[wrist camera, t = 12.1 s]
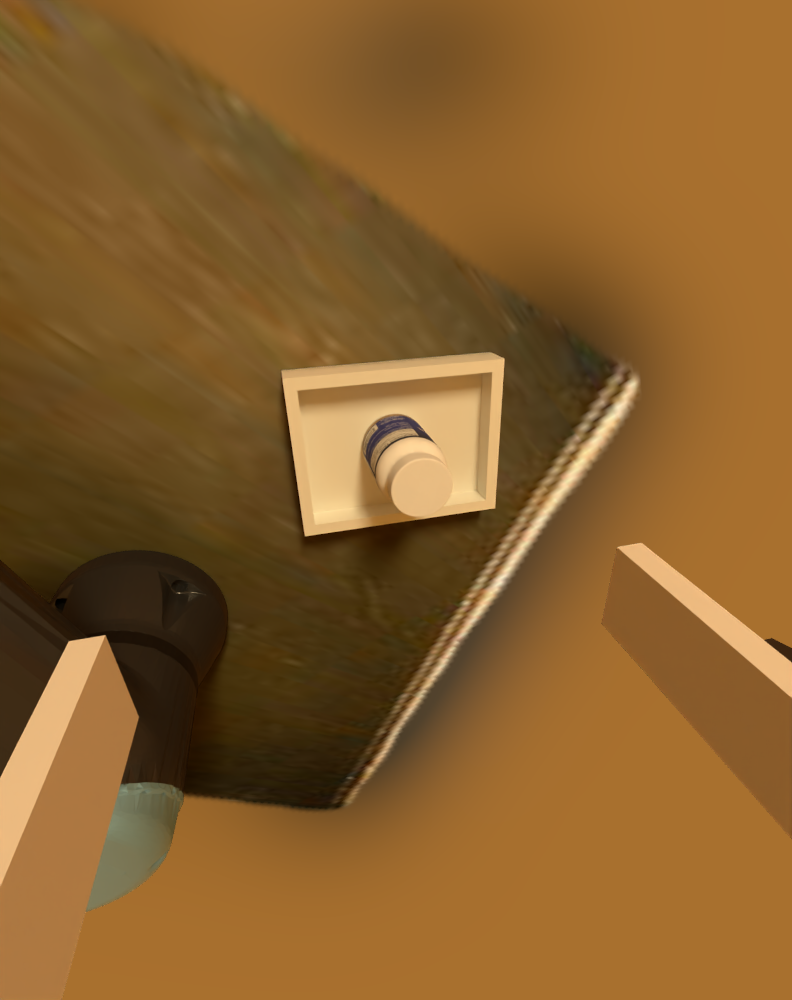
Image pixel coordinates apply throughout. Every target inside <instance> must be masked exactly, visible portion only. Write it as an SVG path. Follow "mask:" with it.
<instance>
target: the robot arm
mask: <svg viewBox="0 0 792 1000" xmlns="http://www.w3.org/2000/svg"><path fill="white" fill-rule="evenodd" d="M227 618H228V612H227V606H226V602H225V599H224V596H223V594H222V592H221V590H220V589H219V587H218V586H217V584H216V583H215V582H214V581H213V580H212V579H211V578H210V577H209V576H208V575H207V574H206V573H205V572H204V571H202V570H201V569H200V568H198V567H196V566H195V565H193V564H191V563H189V562H188V561H185V560H183V559H181V558H178V557H175V556H172V555H169V554H164V553H160V552H153V551H136V550H135V551H122V552H116V553H111V554H107V555H104V556H101V557H98V558H95V559H93V560H91V561H89V562H87V563H85V564H83V565H82V566H80V567H79V568H77V569H76V570H75V571H73V572H72V573H71V574H70V575H69V576H68V577H67V578H66V579H65V580H64V582H63V583H62V584H61V586H60V587H59V589H58V591H57V592H56V594H55V596H54V597H53V599H52V601H51V603H50V604H49V603H48V602H47V601H45V600H44V599H43V598H42V597H41V596H40V595H39V594H37V593H36V592H35V591H34V590H33V589H32V588H31V587H30V586H28V585H27V584H26V583H25V582H24V581H23V580H22V579H21V578H20V577H18V576H17V575H16V574H15V573H14V572H13V571H12V570H11V569H10V568H9V567H7V566H6V565H5V564H4V563H3V562H2V561H1V560H0V1000H61V999H62V996H63V992H64V989H65V985H66V981H67V978H68V974H69V970H70V967H71V963H72V960H73V956H74V952H75V949H76V945H77V941H78V938H79V934H80V930H81V927H82V923H83V919H84V916H85V912H87V911H90V910H93V909H96V908H99V907H101V906H104V905H106V904H108V903H111V902H112V901H115V900H117V899H119V898H121V897H123V896H124V895H126V894H128V893H129V892H131V891H132V890H134V889H136V888H137V887H139V886H140V885H141V884H142V883H144V882H145V881H146V880H147V879H148V878H149V877H150V876H151V875H152V874H153V873H154V872H155V871H156V870H157V869H158V868H159V866H160V865H161V864H162V862H163V861H164V859H165V857H166V855H167V853H168V851H169V849H170V846H171V843H172V838H173V834H174V829H175V825H176V820H177V816H178V812H179V811H180V809H181V806H182V805H183V799H184V795H183V791H184V784H185V777H186V769H187V762H188V755H189V748H190V741H191V733H192V726H193V719H194V712H195V704H196V697H197V691H198V687H199V685H200V684H201V682H202V680H203V679H204V677H205V676H206V674H207V672H208V671H209V669H210V667H211V666H212V664H213V662H214V661H215V659H216V658H217V656H218V655H219V653H220V651H221V649H222V646H223V643H224V640H225V636H226V628H227ZM602 625H603V626H604V627H605V628H606V629H607V630H608V631H609V633H610V634H611V635H612V636H613V637H614V638H615V639H616V641H617V642H618V643H619V644H620V645H621V646H622V647H623V649H624V650H625V651H626V652H627V653H628V654H629V655H630V656H631V657H632V658H633V660H634V661H635V662H636V663H637V664H638V665H639V667H640V668H641V669H642V670H643V671H644V672H645V673H646V675H647V676H648V677H649V678H650V679H651V680H652V681H653V682H654V683H655V685H656V686H657V687H658V688H659V689H660V690H661V692H662V693H663V694H664V695H665V696H666V697H667V698H668V699H669V700H670V702H671V703H672V704H673V705H674V706H675V707H676V708H677V710H678V711H679V712H680V713H681V714H682V715H683V716H684V718H685V719H686V720H687V721H688V722H689V723H690V724H691V725H692V726H693V728H694V729H695V730H696V731H697V732H698V733H699V735H701V737H702V738H703V739H704V740H705V741H706V742H707V743H708V745H709V746H710V747H711V748H712V749H713V750H714V751H715V753H716V754H717V755H718V756H719V757H720V758H721V759H722V760H723V762H724V763H725V764H726V765H727V766H728V767H729V768H730V770H731V771H732V772H733V773H734V774H735V775H736V776H737V777H738V778H739V780H740V781H741V782H742V783H743V784H744V785H745V787H746V788H747V789H748V790H749V791H750V792H751V793H752V795H753V796H754V797H755V798H756V799H757V800H758V801H759V802H760V804H761V805H762V806H763V807H764V808H765V809H766V810H767V812H768V813H769V814H770V815H771V816H772V817H773V818H774V819H775V821H776V822H777V823H778V824H779V825H780V826H781V827H782V828H783V830H784V831H785V832H786V833H787V834H788V835H789V836H790V838H791V839H792V648H790V647H788V646H786V645H784V644H782V643H780V642H778V641H776V640H774V639H772V638H771V639H767V640H763V639H762V638H760V637H759V636H758V635H757V634H755V633H754V632H753V631H752V630H750V629H749V628H748V627H747V626H745V625H744V624H743V623H741V622H740V621H739V620H738V619H736V618H735V617H734V616H733V615H731V614H730V613H729V612H728V611H726V610H725V609H724V608H723V607H721V606H720V605H719V604H718V603H716V602H715V601H714V600H713V599H711V598H710V597H709V596H708V595H706V594H705V593H704V592H702V591H701V590H700V589H699V588H697V587H696V586H695V585H694V584H692V583H691V582H690V581H688V580H687V579H686V578H685V577H684V576H682V575H681V574H680V573H679V572H677V571H676V570H675V569H673V568H672V567H671V566H670V565H669V564H667V563H666V562H665V561H663V560H662V559H661V558H660V557H658V556H657V555H656V554H655V553H653V552H652V551H651V550H650V549H648V548H647V547H646V546H645V545H643V544H642V543H639V544H633V545H627V546H621V547H617V549H616V554H615V559H614V564H613V569H612V574H611V579H610V584H609V589H608V594H607V599H606V604H605V609H604V614H603V619H602Z"/></svg>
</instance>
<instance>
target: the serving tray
mask: <svg viewBox="0 0 792 1000" xmlns="http://www.w3.org/2000/svg"><path fill="white" fill-rule="evenodd" d="M281 372H282V380H283V387H284V394H285V401H286V408H287V415H288V422H289V429H290V436H291V443H292V450H293V457H294V464H295V471H296V478H297V485H298V492H299V499H300V506H301V513H302V520H303V527H304V534H305V536H311V535H317V534H324V533H331V532H338V531H344V530H351V529H358V528H364V527H371V526H378V525H385V524H391V523H398V522H405V521H412V520H418V519H425V518H432V517H439V516H445V515H452V514H459V513H466V512H472V511H479V510H486V509H493V508H495V500H496V484H497V469H498V453H499V437H500V421H501V406H502V390H503V374H504V358H502V357H500V356H498V355H495V354H493V353H491V352H485V353H473V354H462V355H450V356H439V357H427V358H416V359H404V360H393V361H381V362H370V363H358V364H347V365H335V366H324V367H312V368H301V369H289V370H281ZM392 413H399V414H404V415H407V416H409V417H411V418H413V419H414V420H415V421H416V422H417V423H418V424H419V425H420V426H421V427H422V428H423V429H424V431H425V432H426V433H427V434H428V435H429V436H430V438H431V439H432V440H433V441H434V442H435V443H436V444H437V446H438V447H439V448H440V449H441V451H442V452H443V454H444V456H445V459H446V462H447V468H448V470H449V471H450V473H451V476H452V480H453V488H452V492H451V495H450V498H449V499H448V501H447V502H446V504H445V505H444V506H443V507H442V508H441V509H440V510H438V511H437V512H435V513H433V514H431V515H428V516H425V517H412V516H408V515H406V514H404V513H402V512H401V511H399V510H398V509H397V508H396V506H395V505H394V503H393V502H391V501H390V500H388V499H387V498H386V497H385V496H384V495H383V494H382V492H381V491H380V489H379V488H378V486H377V483H376V481H375V479H374V477H373V475H372V473H371V471H370V469H369V467H368V465H367V463H366V460H365V458H364V455H363V451H362V441H363V437H364V434H365V432H366V430H367V428H368V427H369V426H370V425H371V424H372V423H373V422H374V421H375V420H376V419H378V418H379V417H381V416H384V415H387V414H392Z"/></svg>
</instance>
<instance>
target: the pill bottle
mask: <svg viewBox="0 0 792 1000" xmlns="http://www.w3.org/2000/svg"><path fill="white" fill-rule="evenodd" d="M362 451H363V455H364V458H365V460H366V463H367V465H368V467H369V469H370V471H371V473H372V475H373V477H374V479H375V481H376V483H377V486H378V488H379V489H380V491H381V492H382V494H383V495H384V496H385V497H386V498H387V499H388V500H390V501H391V502H393V503H394V505H395V506H396V508H397V509H398V510H399V511H401V512H402V513H404V514H406V515H408V516H412V517H425V516H428V515H431V514H433V513H435V512H437V511H438V510H440V509H441V508H442V507H443V506H444V505H445V504H446V502H447V501H448V499H449V498H450V495H451V492H452V488H453V480H452V476H451V473H450V471H449V470H448V468H447V462H446V459H445V456H444V454H443V452H442V451H441V449H440V448H439V447H438V446H437V444H436V443H435V442H434V441H433V440H432V439H431V438H430V436H429V435H428V434H427V433H426V432H425V431H424V429H423V428H422V427H421V426H420V425H419V424H418V423H417V422H416V421H415V420H414V419H413V418H411V417H409V416H407V415H404V414H399V413H392V414H387V415H384V416H381V417H379V418H378V419H376V420H375V421H374V422H373V423H372V424H371V425H370V426H369V427H368V428H367V430H366V432H365V434H364V437H363V441H362Z"/></svg>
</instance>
